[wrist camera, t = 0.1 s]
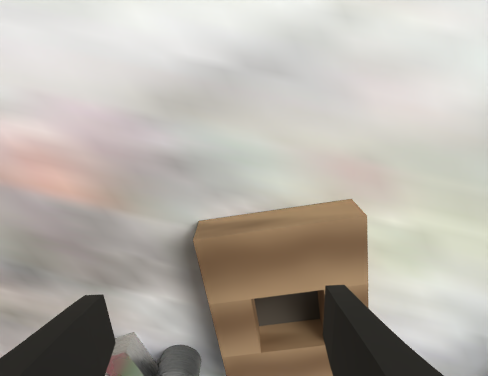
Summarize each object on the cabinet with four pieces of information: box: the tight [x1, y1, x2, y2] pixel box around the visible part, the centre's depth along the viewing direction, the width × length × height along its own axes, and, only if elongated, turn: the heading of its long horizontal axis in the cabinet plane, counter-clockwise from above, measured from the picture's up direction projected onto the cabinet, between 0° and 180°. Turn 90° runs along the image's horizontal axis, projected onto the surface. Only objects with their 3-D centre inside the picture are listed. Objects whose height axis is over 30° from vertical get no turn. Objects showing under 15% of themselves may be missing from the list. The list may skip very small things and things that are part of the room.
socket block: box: [193, 199, 368, 376], centre depth 20 cm, size 14×10×2 cm
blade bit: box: [106, 332, 158, 376], centre depth 23 cm, size 7×2×2 cm, turn 22°
